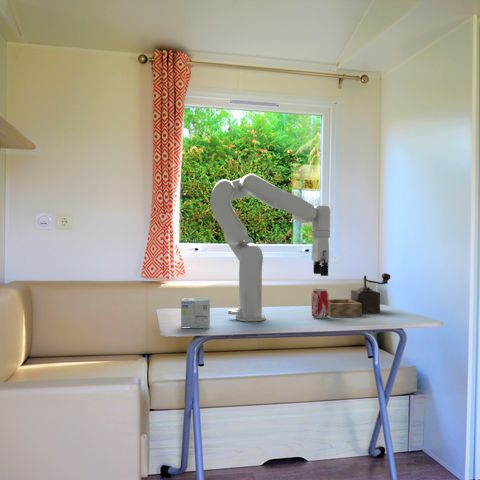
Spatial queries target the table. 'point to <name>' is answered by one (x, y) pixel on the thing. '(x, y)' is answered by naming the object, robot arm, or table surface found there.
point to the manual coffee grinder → (369, 296)
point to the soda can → (320, 303)
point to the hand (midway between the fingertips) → (320, 274)
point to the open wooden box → (344, 308)
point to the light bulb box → (195, 312)
